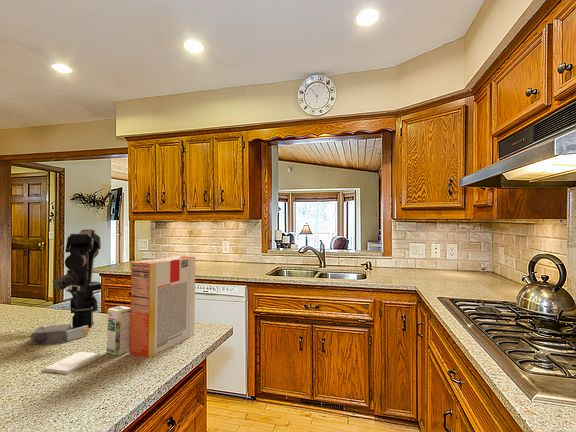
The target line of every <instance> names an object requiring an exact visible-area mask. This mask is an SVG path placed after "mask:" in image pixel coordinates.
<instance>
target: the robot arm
mask: <svg viewBox="0 0 576 432" xmlns="http://www.w3.org/2000/svg"><path fill="white" fill-rule="evenodd" d="M101 246H102V242H101V237H100V236H99V235H98V234H96V230H95V229H81V230H80V232H79V233H70V234H69V236H68V237H67V240H66V245H65V253H69V255H68V256H67V257H65V260H64V265H65V267H66V268H67V270H66V273H65V274H64V275H60V276H59V277H58V278H55V279H53V280H52V283H53V286H54V288H55V290H61V291H62V290H65V291H66V292H68V293H69V294H71V296H72V297H71V299H70V302H69V303H70V305H69V306H70V314H73V316H72V320H71V321H72V324H71V330H72V329H75V328H79V327H82V326H86V325H88V328H89V329H90V328H92V327H93V325H94V324H95V322H94V312H96V311H98V300H97V298H96V296H95V294H94V291H101V290H102V289H103V283H101V282H99V281H92V279H93V272H94V263H95V262H94V261H95V260H94V259H95V258H96V257H97V256H98V255H99V253H100V250H101ZM66 288H67V289H66Z"/></svg>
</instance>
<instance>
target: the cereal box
mask: <svg viewBox="0 0 576 432" xmlns="http://www.w3.org/2000/svg"><path fill="white" fill-rule="evenodd" d="M130 267H131V268H130V269H131V270H130V271H131V273H130V277H131V278H130V308H131V315H130V351H129V354H131V355H137V356H141V357H144V358H145V357H146V358H149V357H153V356H155V355H156V354H158V353H160V352H162V351H165V350H166V349H168V348H171V347H172V346H175V345H176V344H179V343H181V342H183V341H185V340H187V339H189V338H191V337H192V336H195V308H196V306H195V305H196V304H195V303H196V302H195V301H196V300H195V299H196V295H195V294H196V257H195V256H184V255H178V256H177V255H176V256H170V257H163V258H156V259H148V260H140V261H139V260H138V261H131V266H130Z"/></svg>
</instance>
